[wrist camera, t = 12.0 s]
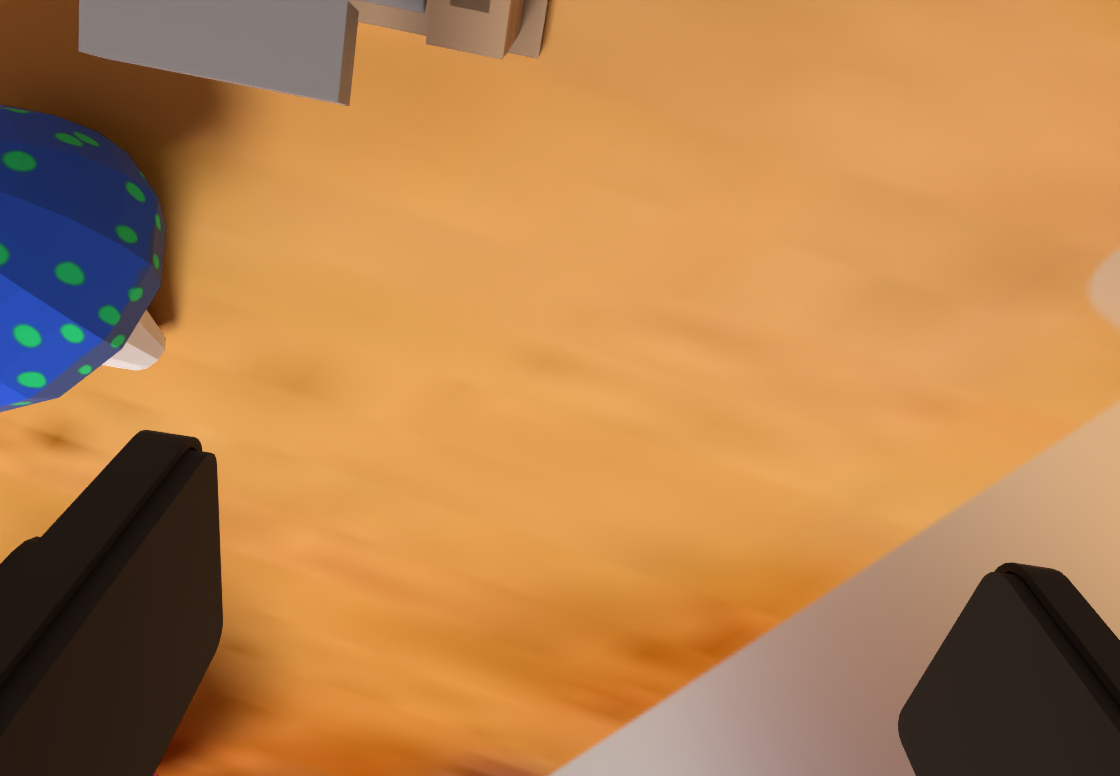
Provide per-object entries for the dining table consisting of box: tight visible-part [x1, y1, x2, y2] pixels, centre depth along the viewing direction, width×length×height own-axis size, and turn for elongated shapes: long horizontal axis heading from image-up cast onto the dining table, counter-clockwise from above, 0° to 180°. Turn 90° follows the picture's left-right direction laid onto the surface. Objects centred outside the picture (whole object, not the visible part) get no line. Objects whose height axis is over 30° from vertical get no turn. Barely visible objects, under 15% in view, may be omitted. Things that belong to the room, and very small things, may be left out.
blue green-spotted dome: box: [0, 105, 166, 412], centre depth 34 cm, size 14×14×15 cm
